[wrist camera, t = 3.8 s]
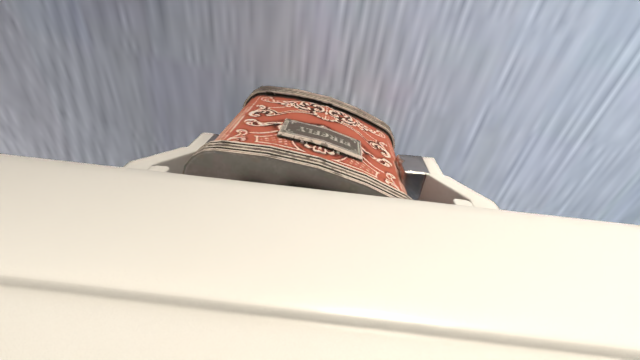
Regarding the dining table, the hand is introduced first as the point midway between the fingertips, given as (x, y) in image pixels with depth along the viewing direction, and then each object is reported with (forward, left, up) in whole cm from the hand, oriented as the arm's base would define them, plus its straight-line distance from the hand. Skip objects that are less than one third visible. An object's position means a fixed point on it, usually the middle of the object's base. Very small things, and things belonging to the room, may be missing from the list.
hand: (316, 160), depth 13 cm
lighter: (0, 0, -4) cm, 4 cm away
